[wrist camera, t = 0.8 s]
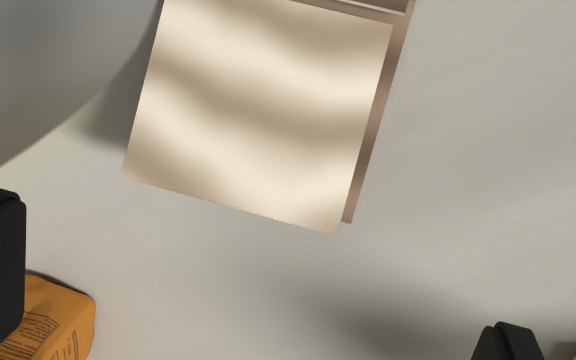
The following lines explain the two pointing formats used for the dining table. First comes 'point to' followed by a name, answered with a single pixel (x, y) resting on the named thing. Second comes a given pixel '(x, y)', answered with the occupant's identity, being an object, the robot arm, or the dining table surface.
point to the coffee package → (51, 324)
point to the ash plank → (257, 106)
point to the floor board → (395, 11)
